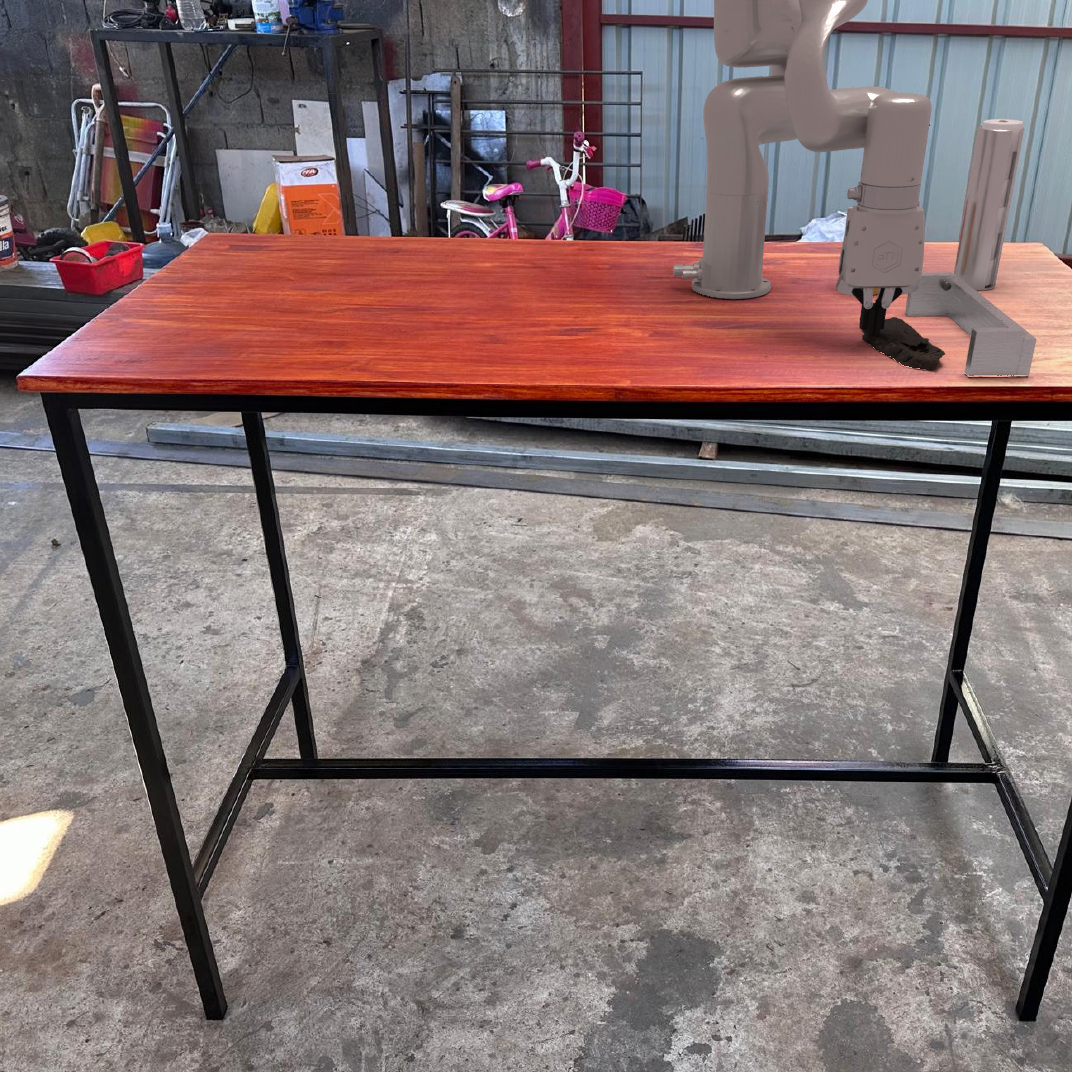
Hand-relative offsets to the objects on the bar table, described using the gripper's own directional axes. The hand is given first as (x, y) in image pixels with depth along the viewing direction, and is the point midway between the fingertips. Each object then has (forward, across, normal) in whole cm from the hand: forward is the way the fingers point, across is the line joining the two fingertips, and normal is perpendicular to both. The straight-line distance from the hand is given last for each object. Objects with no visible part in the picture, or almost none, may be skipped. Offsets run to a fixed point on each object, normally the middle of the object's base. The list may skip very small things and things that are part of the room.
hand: (870, 334), depth 145 cm
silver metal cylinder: (+2, +24, +29) cm, 37 cm away
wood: (+2, +4, -1) cm, 4 cm away
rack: (+1, +13, 0) cm, 13 cm away
